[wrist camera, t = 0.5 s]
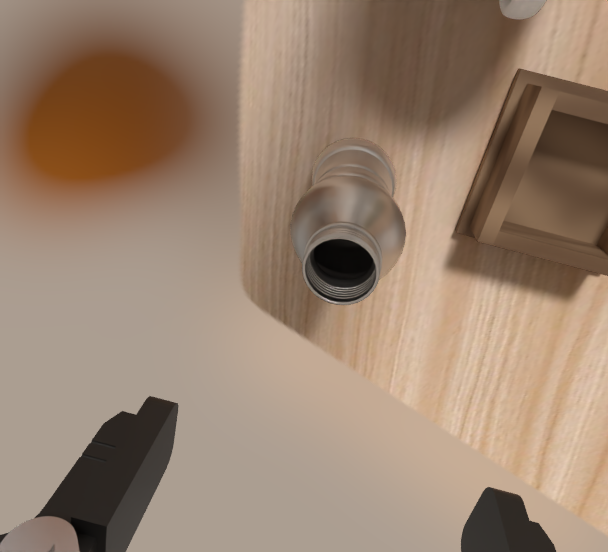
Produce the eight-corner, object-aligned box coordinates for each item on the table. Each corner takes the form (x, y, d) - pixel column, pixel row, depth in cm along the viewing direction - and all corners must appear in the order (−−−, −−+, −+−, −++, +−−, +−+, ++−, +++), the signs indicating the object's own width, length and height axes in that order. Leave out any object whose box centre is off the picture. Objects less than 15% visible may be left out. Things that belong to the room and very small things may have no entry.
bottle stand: (518, 68, 36) (535, 71, 32) (691, 112, 36) (729, 120, 32) (455, 229, 42) (463, 248, 38) (604, 268, 42) (628, 291, 38)
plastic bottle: (340, 116, 39) (311, 175, 21) (411, 160, 40) (441, 252, 22) (301, 185, 42) (246, 288, 24) (368, 224, 43) (364, 353, 25)
